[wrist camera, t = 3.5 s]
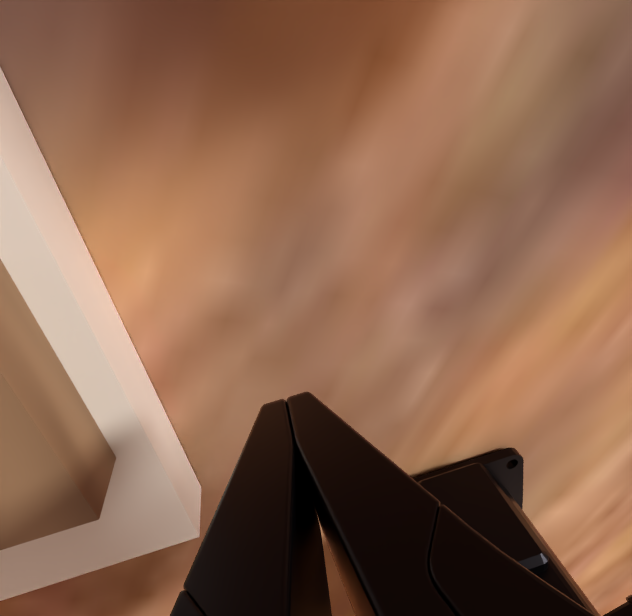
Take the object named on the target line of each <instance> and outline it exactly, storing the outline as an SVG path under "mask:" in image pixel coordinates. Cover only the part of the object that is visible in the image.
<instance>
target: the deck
mask: <svg viewBox="0 0 632 616" xmlns="http://www.w3.org/2000/svg"><path fill="white" fill-rule="evenodd" d="M0 259H1V261H2V262H3V264H4V266H5V267H6V269H7V271H8V273H9V274H10V276H11V278H12V279H13V281H14V283H15V285H16V286H17V288H18V290H19V291H20V293H21V295H22V297H23V298H24V300H25V302H26V303H27V305H28V307H29V309H30V310H31V312H32V314H33V315H34V317H35V319H36V321H37V322H38V324H39V326H40V327H41V329H42V331H43V333H44V334H45V336H46V338H47V339H48V341H49V343H50V345H51V346H52V348H53V350H54V351H55V353H56V355H57V357H58V358H59V360H60V362H61V363H62V365H63V367H64V369H65V370H66V372H67V374H68V375H69V377H70V379H71V381H72V382H73V384H74V386H75V387H76V389H77V391H78V393H79V394H80V396H81V398H82V400H83V401H84V403H85V405H86V406H87V408H88V410H89V412H90V413H91V415H92V417H93V418H94V420H95V422H96V424H97V425H98V427H99V429H100V430H101V432H102V434H103V436H104V437H105V439H106V441H107V442H108V444H109V446H110V448H111V449H112V451H113V453H114V454H115V456H116V461H115V464H114V468H113V471H112V475H111V479H110V482H109V486H108V489H107V493H106V497H105V500H104V504H103V508H102V511H101V515H100V518H99V520H96V521H93V522H89V523H86V524H83V525H80V526H77V527H73V528H70V529H67V530H64V531H61V532H57V533H54V534H51V535H48V536H45V537H42V538H38V539H35V540H32V541H29V542H26V543H22V544H19V545H16V546H13V547H10V548H6V549H3V550H0V601H2V600H5V599H8V598H11V597H15V596H18V595H21V594H24V593H27V592H30V591H33V590H36V589H39V588H42V587H46V586H49V585H52V584H55V583H58V582H61V581H64V580H67V579H70V578H73V577H77V576H80V575H83V574H86V573H89V572H92V571H95V570H98V569H101V568H104V567H108V566H111V565H114V564H117V563H120V562H123V561H126V560H129V559H132V558H135V557H139V556H142V555H145V554H148V553H151V552H154V551H157V550H160V549H163V548H166V547H170V546H173V545H176V544H179V543H182V542H185V541H188V540H191V539H194V538H197V537H199V535H200V508H201V486H200V484H199V482H198V480H197V477H196V475H195V473H194V471H193V469H192V467H191V465H190V463H189V461H188V459H187V457H186V454H185V452H184V450H183V448H182V446H181V444H180V442H179V440H178V438H177V436H176V434H175V431H174V429H173V427H172V425H171V423H170V421H169V419H168V417H167V415H166V413H165V411H164V408H163V406H162V404H161V402H160V400H159V398H158V396H157V394H156V392H155V390H154V388H153V385H152V383H151V381H150V379H149V377H148V375H147V373H146V371H145V369H144V367H143V365H142V362H141V360H140V358H139V356H138V354H137V352H136V350H135V348H134V346H133V344H132V341H131V339H130V337H129V335H128V333H127V331H126V329H125V327H124V325H123V323H122V321H121V318H120V316H119V314H118V312H117V310H116V308H115V306H114V304H113V302H112V300H111V298H110V295H109V293H108V291H107V289H106V287H105V285H104V283H103V281H102V279H101V277H100V275H99V272H98V270H97V268H96V266H95V264H94V262H93V260H92V258H91V256H90V254H89V252H88V249H87V247H86V245H85V243H84V241H83V239H82V237H81V235H80V233H79V231H78V229H77V226H76V224H75V222H74V220H73V218H72V216H71V214H70V212H69V210H68V208H67V206H66V203H65V201H64V199H63V197H62V195H61V193H60V191H59V189H58V187H57V185H56V182H55V180H54V178H53V176H52V174H51V172H50V170H49V168H48V166H47V164H46V162H45V159H44V157H43V155H42V153H41V151H40V149H39V147H38V145H37V143H36V141H35V139H34V136H33V134H32V132H31V130H30V128H29V126H28V124H27V122H26V120H25V118H24V116H23V113H22V111H21V109H20V107H19V105H18V103H17V101H16V99H15V97H14V95H13V93H12V90H11V88H10V86H9V84H8V82H7V80H6V78H5V76H4V74H3V72H2V70H1V67H0Z"/></svg>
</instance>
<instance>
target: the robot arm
mask: <svg viewBox="0 0 632 616" xmlns="http://www.w3.org/2000/svg"><path fill="white" fill-rule="evenodd" d="M522 502H523V457H522V456H521V455H520V454H519V453H518V451H517V450H516V449H514V448H506V449H503V450H500V451H497V452H494V453H491V454H487V455H484V456H481V457H478V458H475V459H472V460H469V461H466V462H463V463H460V464H457V465H454V466H451V467H447V468H444V469H441V470H438V471H435V472H432V473H429V474H426V475H423V476H420V477H417V478H414V479H413V478H411V477H410V476H409V475H408V474H407V473H405V472H404V471H403V470H402V469H401V468H399V467H398V466H397V465H396V464H395V463H394V462H392V461H391V460H390V459H389V458H388V457H386V456H385V455H384V454H383V453H382V452H380V451H379V450H378V449H377V448H376V447H374V446H373V445H372V444H371V443H370V442H368V441H367V440H366V439H365V438H364V437H363V436H361V435H360V434H359V433H358V432H357V431H355V430H354V429H353V428H352V427H351V426H349V425H348V424H347V423H346V422H345V421H343V420H342V419H341V418H340V417H339V416H338V415H336V414H335V413H334V412H333V411H332V410H330V409H329V408H328V407H327V406H326V405H324V404H323V403H322V402H321V401H320V400H318V399H317V398H316V397H315V396H314V395H312V394H311V393H310V392H304V393H300V394H297V395H294V396H291V397H288V399H287V402H286V401H285V400H284V399H280V400H277V401H274V402H270V403H267V404H264V405H263V406H262V407H261V409H260V412H259V414H258V416H257V418H256V421H255V423H254V425H253V428H252V430H251V432H250V434H249V437H248V439H247V441H246V444H245V446H244V448H243V450H242V453H241V455H240V457H239V460H238V462H237V464H236V466H235V469H234V471H233V473H232V476H231V478H230V480H229V482H228V485H227V487H226V489H225V492H224V494H223V496H222V498H221V501H220V503H219V505H218V507H217V510H216V512H215V514H214V517H213V519H212V521H211V523H210V526H209V528H208V530H207V533H206V535H205V537H204V539H203V542H202V544H201V546H200V549H199V551H198V553H197V555H196V558H195V560H194V562H193V565H192V567H191V569H190V571H189V574H188V576H187V578H186V581H185V583H184V586H183V587H184V590H183V591H181V592H180V593H179V596H178V598H177V600H176V603H175V605H174V607H173V610H172V612H171V614H170V616H332V613H331V605H330V598H329V590H328V582H327V575H326V567H325V559H324V551H323V544H322V537H321V531H320V525H319V521H320V524H321V527H322V530H323V533H324V536H325V538H326V541H327V544H328V546H329V549H330V551H331V554H332V556H333V559H334V562H335V564H336V567H337V569H338V572H339V574H340V577H341V579H342V582H343V585H344V587H345V590H346V592H347V595H348V597H349V600H350V603H351V605H352V608H353V610H354V613H355V615H356V616H600V614H599V613H598V612H597V610H596V609H595V608H594V606H593V605H592V604H591V602H590V601H589V600H588V598H587V597H586V596H585V594H584V593H583V591H582V590H581V589H580V587H579V586H578V585H577V583H576V582H575V581H574V579H573V578H572V577H571V575H570V574H569V573H568V571H567V570H566V569H565V567H564V566H563V564H562V563H561V562H560V560H559V559H558V558H557V556H556V555H555V554H554V552H553V551H552V550H551V548H550V547H549V546H548V544H547V543H546V542H545V540H544V539H543V537H542V536H541V535H540V533H539V532H538V531H537V529H536V528H535V527H534V525H533V524H532V523H531V521H530V520H529V519H528V517H527V516H526V515H525V513H524V512H523V510H522ZM317 515H318V516H317ZM318 518H319V520H318ZM626 600H627V602H626V603H624V604H623V605H621V606H619V607H617V608H616V609H614V610H612V611H610V612H609V613H607V614H605V615H603V616H632V595H630V596H628V597H627V598H626Z"/></svg>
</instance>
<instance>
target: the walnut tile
mask: <svg viewBox="0 0 632 616" xmlns="http://www.w3.org/2000/svg"><path fill="white" fill-rule="evenodd" d="M115 461H116V456H115V454H114V453H113V451H112V449H111V448H110V446H109V444H108V442H107V441H106V439H105V437H104V436H103V434H102V432H101V430H100V429H99V427H98V425H97V424H96V422H95V420H94V418H93V417H92V415H91V413H90V412H89V410H88V408H87V406H86V405H85V403H84V401H83V400H82V398H81V396H80V394H79V393H78V391H77V389H76V387H75V386H74V384H73V382H72V381H71V379H70V377H69V375H68V374H67V372H66V370H65V369H64V367H63V365H62V363H61V362H60V360H59V358H58V357H57V355H56V353H55V351H54V350H53V348H52V346H51V345H50V343H49V341H48V339H47V338H46V336H45V334H44V333H43V331H42V329H41V327H40V326H39V324H38V322H37V321H36V319H35V317H34V315H33V314H32V312H31V310H30V309H29V307H28V305H27V303H26V302H25V300H24V298H23V297H22V295H21V293H20V291H19V290H18V288H17V286H16V285H15V283H14V281H13V279H12V278H11V276H10V274H9V273H8V271H7V269H6V267H5V266H4V264H3V262H2V261H1V259H0V550H3V549H6V548H10V547H13V546H16V545H19V544H22V543H26V542H29V541H32V540H35V539H38V538H42V537H45V536H48V535H51V534H54V533H57V532H61V531H64V530H67V529H70V528H73V527H77V526H80V525H83V524H86V523H89V522H93V521H96V520H99V518H100V515H101V511H102V508H103V504H104V500H105V497H106V493H107V489H108V486H109V482H110V479H111V475H112V471H113V468H114V464H115Z"/></svg>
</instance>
